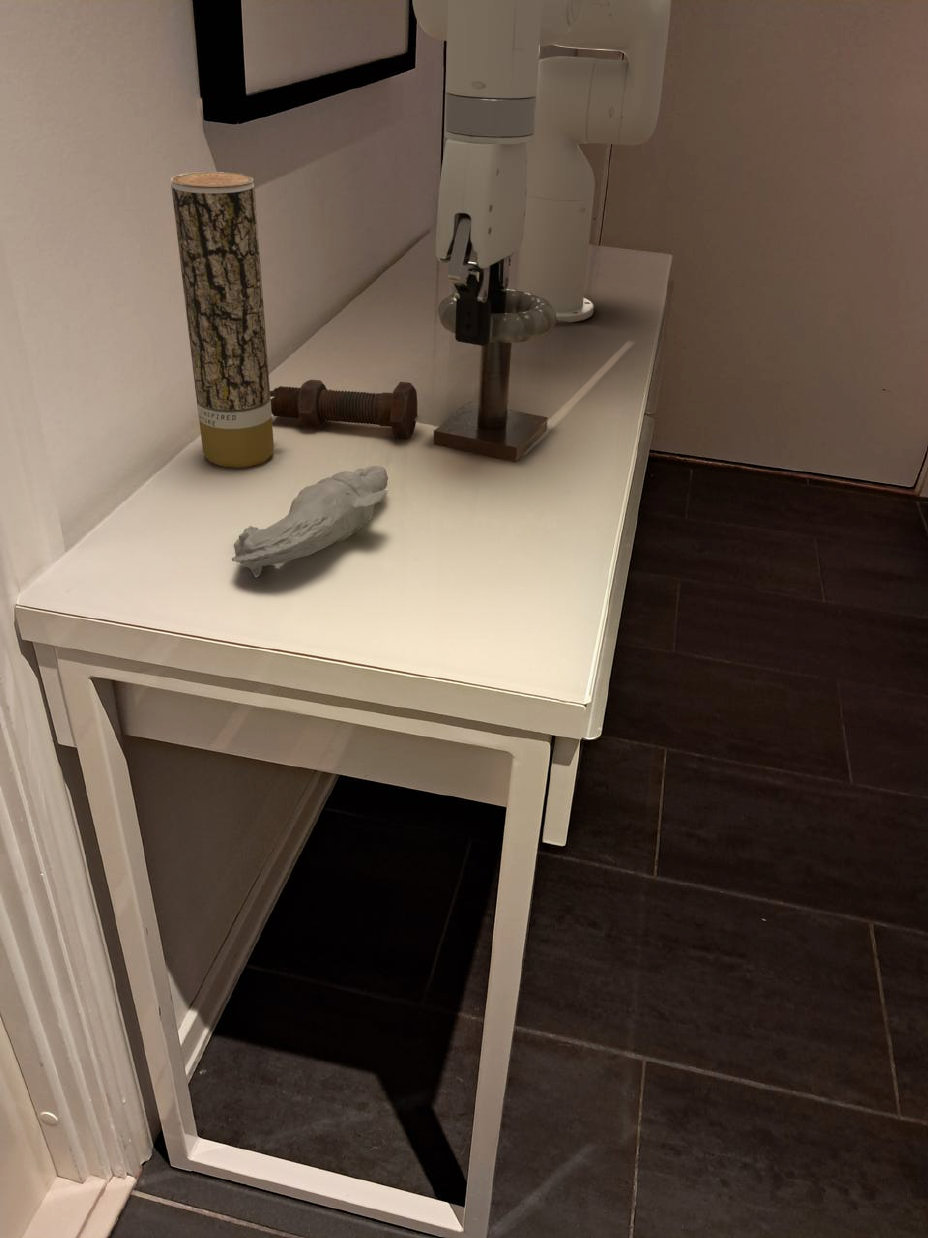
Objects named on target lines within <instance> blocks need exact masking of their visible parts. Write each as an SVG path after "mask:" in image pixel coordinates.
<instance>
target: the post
mask: <svg viewBox="0 0 928 1238" xmlns="http://www.w3.org/2000/svg"><path fill="white" fill-rule="evenodd" d="M512 344H513V343H498V342H489V343H488V344H487V345H485V346H480V355H479V356H480V359H479V378H478V379H479V380H478V401H477V402H478V403H476V402H471V401H469V402H467V403H466V404H465V405H464V406H462V407H461V408H460V409H459V410H458V411H456V412H455V413H454V414H452V415H451V416H450V417H449V418H448V419H446V420H444V422H443V423H441V424H440V425H439V426H438V427H436V428H435V429H434V430H433V445H436V446H440V447H444V448H449V449H454V450H457V451H463V452H468V453H473V454H477V455H482V456H487V457H490V458H491V457H492V458H495V459H500V460H506V461H511V462H515V463H516V462H517V461H518V460H519V459H520V458H521V457H522V456H523V455H524V454H526V452H527V451H529V450H530V448H531V447H532V446H533V445H534V444H535V443H536V442H537V441H538V440H539V439H540V438H541V437H542V436H543V435H544V434H545V433H546V432H547V430H548V419H549V418H548V417H547V416H544V415H540V414H539V415H538V414H534V413H533V414H532V413H527V412H523V411H517V410H514V409H513V410H512V409H509V407H508V406H509V394H510V393H509V392H510V375H511V358H512Z"/></svg>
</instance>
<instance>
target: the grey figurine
mask: <svg viewBox="0 0 928 1238" xmlns="http://www.w3.org/2000/svg"><path fill="white" fill-rule="evenodd" d="M388 480H389V475H388V473H387V469H386V468H384V466H380V465H370V466H367V467H365V468H357V469H356V470H355V471H347V470H345V471H339V472H337V473H334V474H333V475H332V476H328V477H326V478H323V479H321V480H319V481H317V482H316V483H315V484H312V485H308V486H305V487H303V488H302V489H301V490H300V491H299V492H298V494H297V496H296V497H295V498H293V500H292V501H291V504H290V507H289V511H288V514H287V515H286V516H284V517H282V518H281V519H280V520H278V521H277V522H275V523H274V524H272V525H270V526H268V527H266V528H261V529H260V528H258V527H255V526H252V525H249V526H248V527H247V528H244V529H243V532H242V533H240V534H239V535H238V538H237V539H236V541H235V542H234V543H233V548H234V555H235V556H233V557H231V561H232V562H235V563H240V565H241V567H244V568H249V569H250V571H251V572H252V573H253V576H254V578H257V577H258V576H260V575H261V573H262V571H263V567H265V566H272V565H273V566H274V565H278V564H283V563H286V562H289V561H293V560H294V559H295V560H296V559H299V558H300V559H301V558H304V557H308V556H311V555H313V554H315V553H317V552H319V551H321V550H323V549H325V548H327V547H328V546H330V545H333V544H337V543H340V542H342V541H344V540H347V539H348V538H349V537H350V536H351V535H353V534H355V533H356V532H357V531H359V530H360V529H361V528H362V527H363V526H364V525H366V524H368V523H369V521H370V520H372V518H373V515H374V508H375V505H376V504H377V503H379V502H382V501H384V499H385V497H386V496H387V495H388V492H389V490H387V487H388V482H389V481H388Z"/></svg>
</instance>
